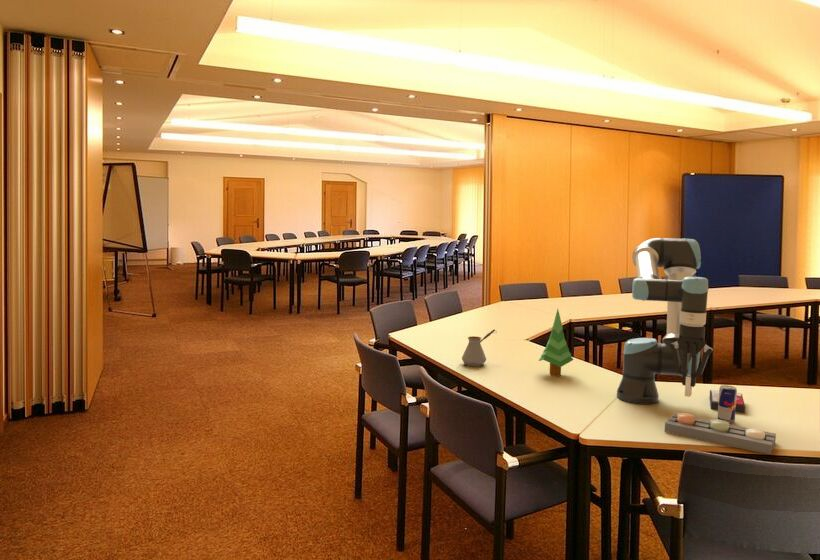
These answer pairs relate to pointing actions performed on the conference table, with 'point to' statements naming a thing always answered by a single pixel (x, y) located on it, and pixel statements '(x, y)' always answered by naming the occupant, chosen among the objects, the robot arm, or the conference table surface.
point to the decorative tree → (556, 348)
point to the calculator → (715, 399)
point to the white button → (755, 434)
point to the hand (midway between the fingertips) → (688, 395)
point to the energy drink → (727, 403)
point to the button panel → (721, 435)
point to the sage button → (719, 425)
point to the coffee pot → (475, 351)
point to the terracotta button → (686, 418)
